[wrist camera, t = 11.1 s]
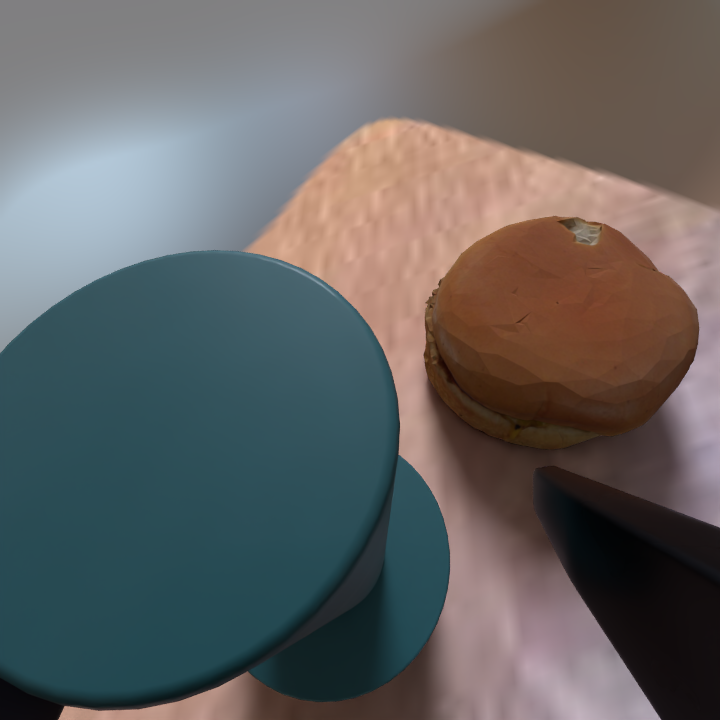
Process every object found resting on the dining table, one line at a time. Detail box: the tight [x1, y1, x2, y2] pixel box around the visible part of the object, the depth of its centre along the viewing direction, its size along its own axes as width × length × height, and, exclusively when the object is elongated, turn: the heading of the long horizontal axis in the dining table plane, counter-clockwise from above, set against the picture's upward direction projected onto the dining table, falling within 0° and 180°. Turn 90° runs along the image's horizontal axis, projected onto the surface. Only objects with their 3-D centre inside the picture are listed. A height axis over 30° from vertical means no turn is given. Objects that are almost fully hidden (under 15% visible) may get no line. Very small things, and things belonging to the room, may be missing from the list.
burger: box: [424, 216, 699, 450], centre depth 17 cm, size 10×9×5 cm
